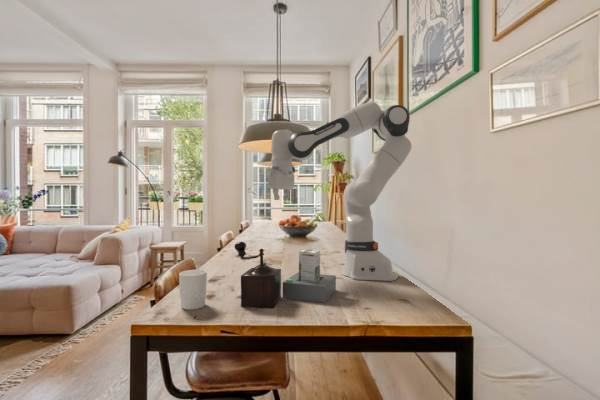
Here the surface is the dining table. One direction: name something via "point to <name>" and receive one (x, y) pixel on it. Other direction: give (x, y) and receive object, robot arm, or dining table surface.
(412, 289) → the dining table surface
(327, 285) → the port block
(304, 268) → the syrup box
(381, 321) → the dining table surface
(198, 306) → the white cup
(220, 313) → the dining table surface
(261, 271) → the manual coffee grinder
